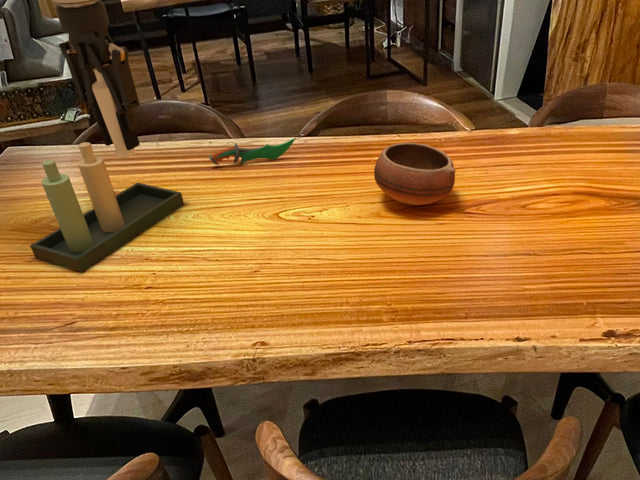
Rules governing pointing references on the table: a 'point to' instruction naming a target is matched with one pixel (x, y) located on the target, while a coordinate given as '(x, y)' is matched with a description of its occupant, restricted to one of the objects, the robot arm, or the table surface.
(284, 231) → the table surface
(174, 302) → the table surface
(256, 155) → the knife
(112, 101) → the perfume bottle
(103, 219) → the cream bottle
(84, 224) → the sage bottle
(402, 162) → the bowl
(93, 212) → the tray
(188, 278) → the table surface
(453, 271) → the table surface
